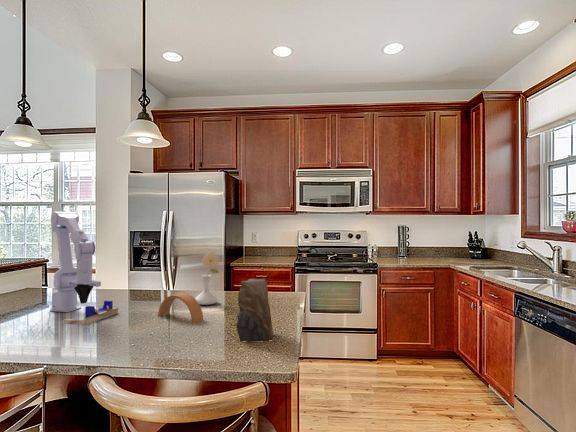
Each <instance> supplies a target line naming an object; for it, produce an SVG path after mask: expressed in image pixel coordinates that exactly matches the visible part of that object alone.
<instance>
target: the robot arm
mask: <svg viewBox="0 0 576 432" xmlns="http://www.w3.org/2000/svg"><path fill="white" fill-rule="evenodd" d="M79 222H80V216H79V213H78V212H77V211H74V212H73V211H53V212H52V214H51V216H50V226H51V231H52V232H54V233H55V235H56V241H57V249H58V250H57V251H58V259H59V267H60V268H59V269H58V270H56V271H55V273H54V275H53V287H54V291H53V292H52V296H51V309H50V310H49V311H50V312H60V313H70V312H73V311H76V310H80V309H82V306H78V299H79V302H80V304H81V305H82V304H86V303H88V301H89V296H90V294H91V292H92V290H93V288H94V287H96V288H98V287H102V282H101V280H93V255H94V254H95V253H96V243H95V241H93V240H91V239H89V238H88V237H87V234H86V232H85V231H84V230H82V229H80V226H79ZM70 240H71V241H70ZM71 242H72V244H73V246H74V248H73V249H74V250H73V252H74V257H75V258H74V259H75V260H76V267H74V264H73V255H72V248H71Z"/></svg>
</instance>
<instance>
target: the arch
mask: <svg viewBox="0 0 576 432" xmlns="http://www.w3.org/2000/svg"><path fill="white" fill-rule="evenodd" d="M195 298H196V297H194V296H193V295H191V294H189V293H185V292H182V293H176V294H172V295H169V296H166V297H165V298H164V299H163V300H162V302H161V303H160V306H159V308H158V312H157V317H163V316H164V317H165V316H168V315H170V311H171V307H172V304H173V302H174V301H175V300H176V299H177V300H180V301H182V302H183V303H184V304H185V305H186V307H187V309H188V311H189V314H190V317H191V323H192V324H196V323H200V322H201V321H204V314H203V310H202V307H201V305H200V304H199V303H198V302H197V300H196V299H195Z"/></svg>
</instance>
